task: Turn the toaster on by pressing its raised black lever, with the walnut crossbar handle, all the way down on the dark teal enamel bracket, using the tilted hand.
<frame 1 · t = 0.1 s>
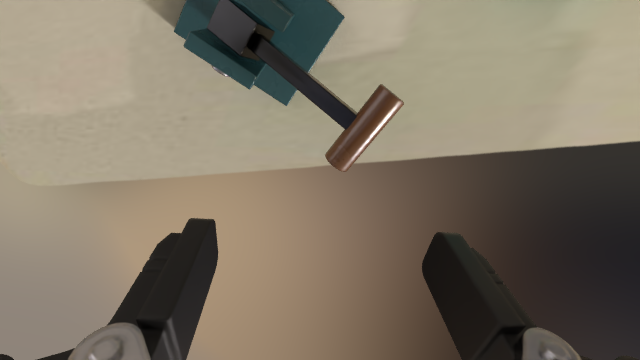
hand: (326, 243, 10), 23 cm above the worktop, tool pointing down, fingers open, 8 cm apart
toaster bracket: (261, 23, 26), on the worktop
toaster lever: (298, 77, 17), point 12 cm above the worktop, hinge at 25.0°
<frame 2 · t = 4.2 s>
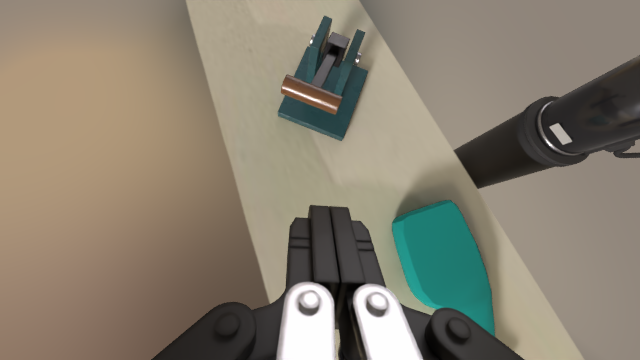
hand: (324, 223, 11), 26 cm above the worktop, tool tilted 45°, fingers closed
toaster bracket: (323, 94, 42), on the worktop
spray bottle: (448, 295, 38), on the worktop
toaster lever: (325, 68, 29), point 12 cm above the worktop, hinge at 25.0°
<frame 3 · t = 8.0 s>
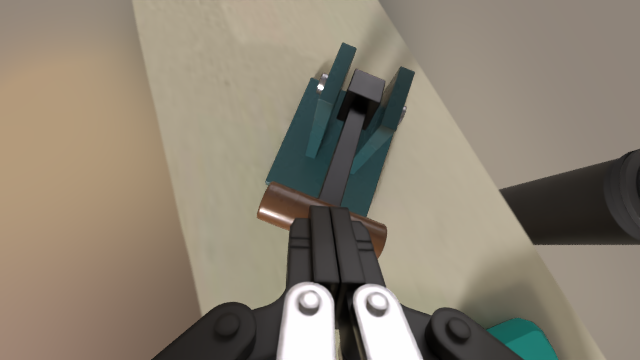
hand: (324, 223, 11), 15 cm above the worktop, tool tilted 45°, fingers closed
toaster bracket: (334, 149, 28), on the worktop
toaster lever: (346, 145, 16), point 12 cm above the worktop, hinge at 24.1°, touching gripper
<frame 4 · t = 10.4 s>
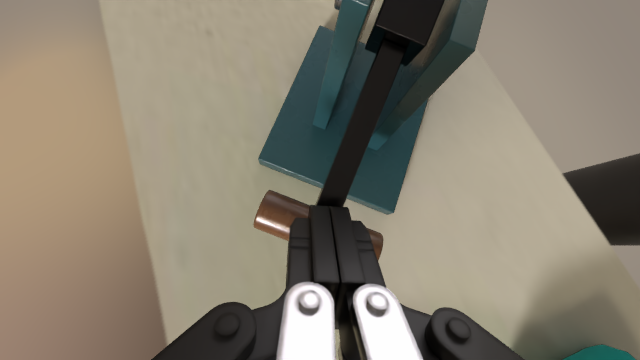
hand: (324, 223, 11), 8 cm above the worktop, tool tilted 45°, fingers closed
toaster bracket: (350, 119, 22), on the worktop
toaster lever: (362, 120, 12), point 9 cm above the worktop, hinge at -18.3°, touching gripper
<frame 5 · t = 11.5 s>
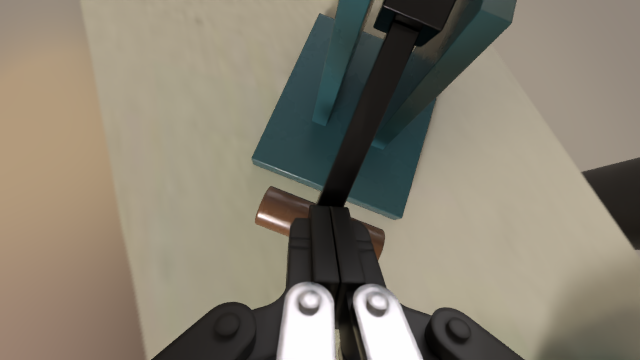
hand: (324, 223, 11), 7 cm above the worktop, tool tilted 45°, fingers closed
toaster bracket: (353, 115, 20), on the worktop
toaster lever: (367, 115, 11), point 8 cm above the worktop, hinge at -28.9°, touching gripper
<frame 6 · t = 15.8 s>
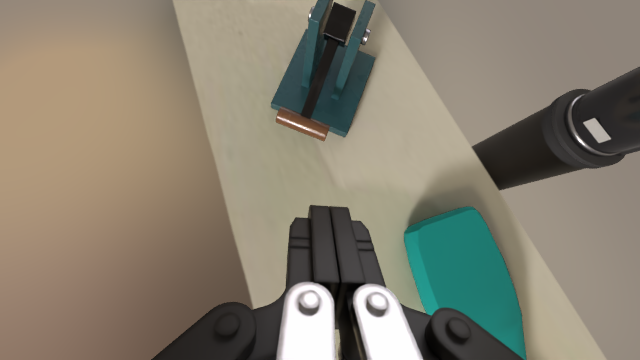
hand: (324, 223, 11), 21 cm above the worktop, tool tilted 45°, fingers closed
toaster bracket: (324, 84, 36), on the worktop
spray bottle: (470, 319, 32), on the worktop
toaster lever: (321, 74, 28), point 8 cm above the worktop, hinge at -29.0°
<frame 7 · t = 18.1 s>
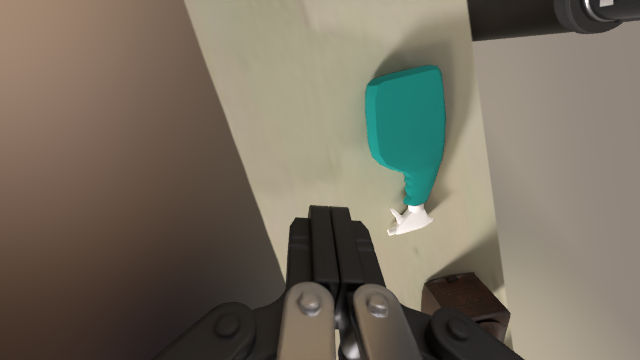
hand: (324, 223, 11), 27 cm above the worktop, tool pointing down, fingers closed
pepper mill: (434, 296, 54), on the worktop
spray bottle: (403, 157, 41), on the worktop
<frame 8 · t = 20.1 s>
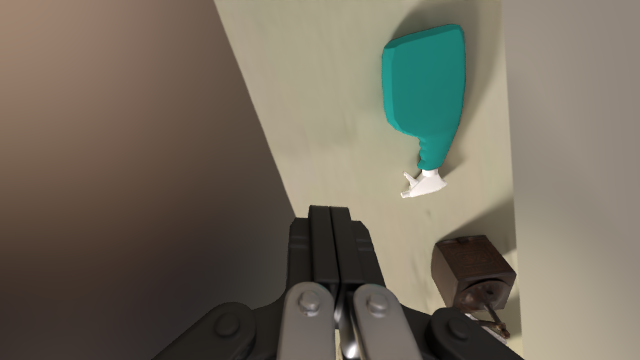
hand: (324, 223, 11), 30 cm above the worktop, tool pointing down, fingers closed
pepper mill: (444, 256, 57), on the worktop
spray bottle: (420, 122, 41), on the worktop
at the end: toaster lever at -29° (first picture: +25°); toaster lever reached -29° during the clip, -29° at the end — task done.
